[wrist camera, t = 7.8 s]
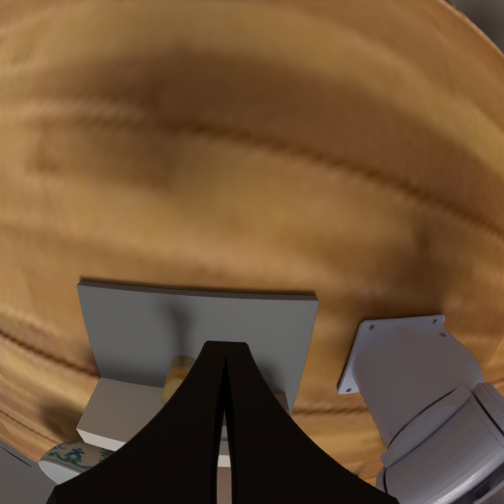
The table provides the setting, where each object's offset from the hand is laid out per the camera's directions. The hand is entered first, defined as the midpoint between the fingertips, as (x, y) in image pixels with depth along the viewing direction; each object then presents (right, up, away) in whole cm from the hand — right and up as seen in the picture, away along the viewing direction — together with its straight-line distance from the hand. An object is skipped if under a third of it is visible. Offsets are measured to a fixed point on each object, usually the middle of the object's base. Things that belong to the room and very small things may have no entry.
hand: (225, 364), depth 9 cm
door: (-4, -4, +11) cm, 13 cm away
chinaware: (-19, -23, +16) cm, 34 cm away
